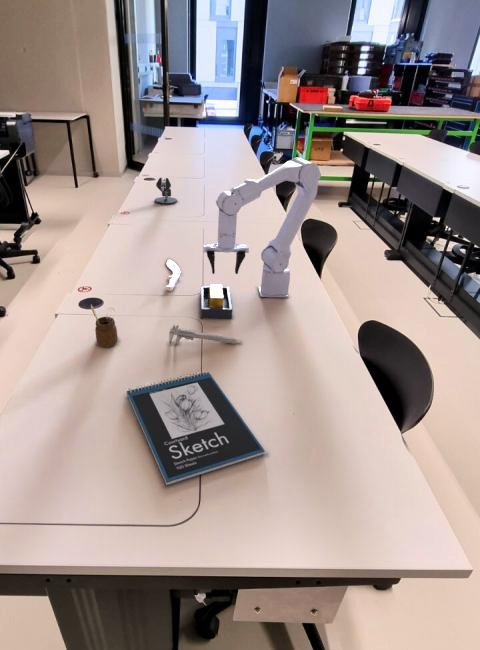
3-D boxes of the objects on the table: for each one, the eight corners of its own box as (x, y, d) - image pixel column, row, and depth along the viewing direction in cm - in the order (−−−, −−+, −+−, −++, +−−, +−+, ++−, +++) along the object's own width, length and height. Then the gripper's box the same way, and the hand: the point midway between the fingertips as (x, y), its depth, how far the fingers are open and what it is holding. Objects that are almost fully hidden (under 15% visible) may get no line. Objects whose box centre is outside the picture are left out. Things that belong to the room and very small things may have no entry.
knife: (168, 256, 178) (187, 258, 177) (168, 260, 178) (187, 262, 178) (150, 285, 152) (172, 287, 152) (150, 290, 153) (172, 291, 152)
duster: (221, 296, 150) (222, 283, 147) (223, 312, 140) (224, 298, 138) (208, 296, 149) (208, 283, 147) (209, 312, 140) (209, 298, 138)
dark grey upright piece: (152, 207, 237) (151, 182, 230) (155, 197, 254) (155, 174, 247) (176, 208, 238) (175, 183, 231) (177, 198, 254) (177, 175, 247)
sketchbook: (166, 486, 84) (166, 479, 83) (125, 394, 106) (125, 387, 105) (264, 454, 91) (265, 447, 90) (207, 374, 114) (207, 367, 113)
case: (228, 295, 152) (228, 286, 151) (231, 318, 139) (232, 309, 137) (200, 294, 152) (200, 286, 150) (201, 318, 138) (201, 309, 137)
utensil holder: (118, 347, 123) (114, 309, 116) (95, 348, 122) (90, 310, 116) (118, 336, 128) (114, 299, 121) (96, 337, 127) (91, 300, 120)
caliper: (169, 345, 125) (168, 326, 122) (169, 343, 126) (168, 324, 122) (240, 343, 127) (241, 325, 123) (239, 341, 128) (241, 323, 124)
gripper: (204, 236, 134) (203, 277, 142) (251, 237, 135) (247, 277, 142) (203, 228, 140) (202, 268, 148) (248, 229, 141) (245, 269, 148)
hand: (224, 272), depth 145 cm, fingers open, 7 cm apart
